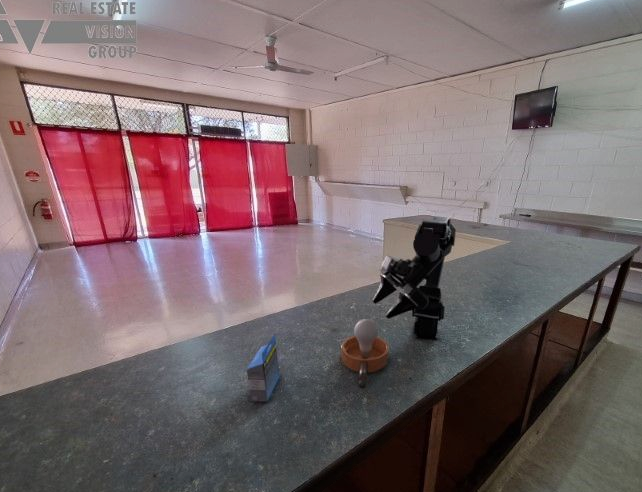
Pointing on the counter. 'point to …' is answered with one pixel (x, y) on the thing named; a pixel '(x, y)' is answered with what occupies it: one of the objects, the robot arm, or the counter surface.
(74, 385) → the counter surface
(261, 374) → the blue cardboard box
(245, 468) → the counter surface
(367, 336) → the lightbulb
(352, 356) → the orange round dish
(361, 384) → the handle
